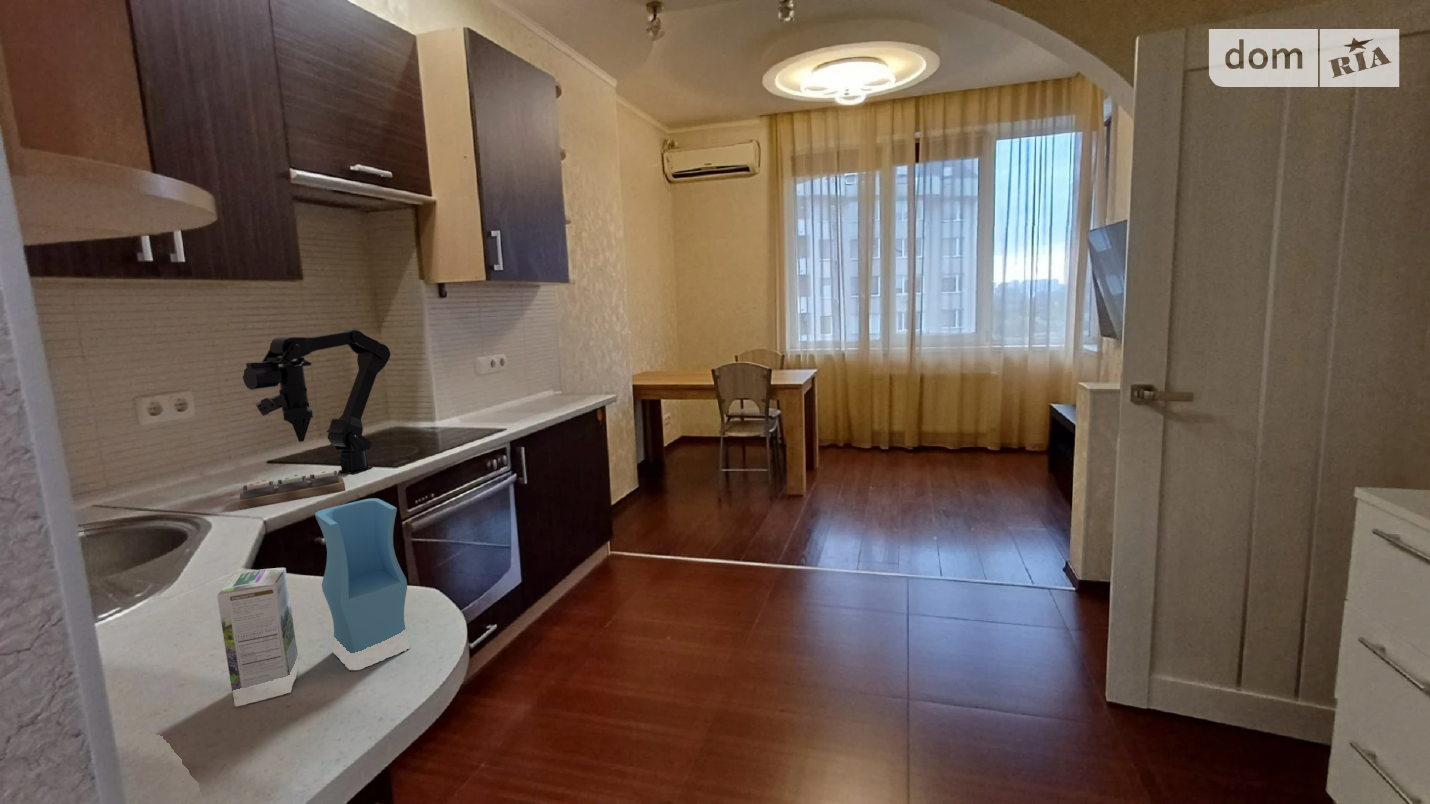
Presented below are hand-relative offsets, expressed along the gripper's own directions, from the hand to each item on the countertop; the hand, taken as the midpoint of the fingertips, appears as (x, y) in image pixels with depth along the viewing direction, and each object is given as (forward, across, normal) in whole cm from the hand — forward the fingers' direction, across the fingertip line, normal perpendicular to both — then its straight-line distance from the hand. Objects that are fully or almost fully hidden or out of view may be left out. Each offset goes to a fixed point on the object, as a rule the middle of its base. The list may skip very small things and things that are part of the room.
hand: (301, 441), depth 166 cm
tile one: (+9, +10, +4) cm, 14 cm away
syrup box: (+12, +109, -9) cm, 110 cm away
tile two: (+9, +10, -3) cm, 14 cm away
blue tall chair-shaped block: (+12, +107, +3) cm, 108 cm away
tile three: (+9, +10, -10) cm, 17 cm away
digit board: (+12, +10, -3) cm, 16 cm away
